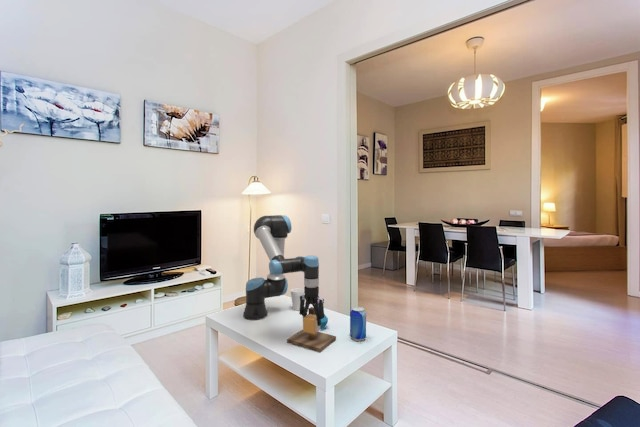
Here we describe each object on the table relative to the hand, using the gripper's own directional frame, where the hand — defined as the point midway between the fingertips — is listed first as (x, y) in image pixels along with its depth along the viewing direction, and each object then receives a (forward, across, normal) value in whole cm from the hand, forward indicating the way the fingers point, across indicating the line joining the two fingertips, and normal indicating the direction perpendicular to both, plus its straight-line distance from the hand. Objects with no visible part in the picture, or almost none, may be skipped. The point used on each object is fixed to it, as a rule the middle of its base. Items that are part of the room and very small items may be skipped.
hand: (311, 329), depth 161 cm
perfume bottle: (+6, -6, +18) cm, 20 cm away
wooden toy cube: (0, 0, 0) cm, 0 cm away
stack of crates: (+7, -16, +28) cm, 33 cm away
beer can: (+6, +19, +16) cm, 26 cm away
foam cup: (+6, -35, +36) cm, 51 cm away
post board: (+6, 0, 0) cm, 6 cm away
